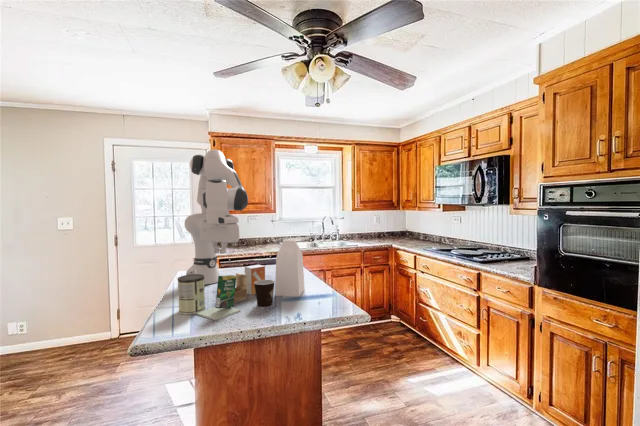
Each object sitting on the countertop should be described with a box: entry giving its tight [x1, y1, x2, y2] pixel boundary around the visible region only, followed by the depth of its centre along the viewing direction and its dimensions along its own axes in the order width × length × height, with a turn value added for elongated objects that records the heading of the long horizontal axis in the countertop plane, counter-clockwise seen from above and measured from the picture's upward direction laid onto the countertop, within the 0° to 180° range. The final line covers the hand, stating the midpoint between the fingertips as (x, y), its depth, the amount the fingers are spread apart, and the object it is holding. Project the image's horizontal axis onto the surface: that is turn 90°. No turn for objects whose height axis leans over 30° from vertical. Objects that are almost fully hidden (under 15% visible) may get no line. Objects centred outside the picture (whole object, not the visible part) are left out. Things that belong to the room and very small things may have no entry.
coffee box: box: [214, 274, 236, 309], centre depth 132 cm, size 8×3×13 cm, turn 149°
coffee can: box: [177, 274, 206, 316], centre depth 132 cm, size 10×10×14 cm
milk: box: [274, 239, 306, 297], centre depth 156 cm, size 12×12×26 cm
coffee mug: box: [254, 279, 275, 308], centre depth 139 cm, size 12×9×10 cm
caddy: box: [234, 273, 248, 304], centre depth 144 cm, size 6×12×11 cm, turn 146°
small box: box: [244, 264, 266, 296], centre depth 157 cm, size 8×6×13 cm
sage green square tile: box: [196, 306, 241, 321], centre depth 128 cm, size 12×12×1 cm
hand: (219, 253), depth 128 cm, fingers open, 2 cm apart
